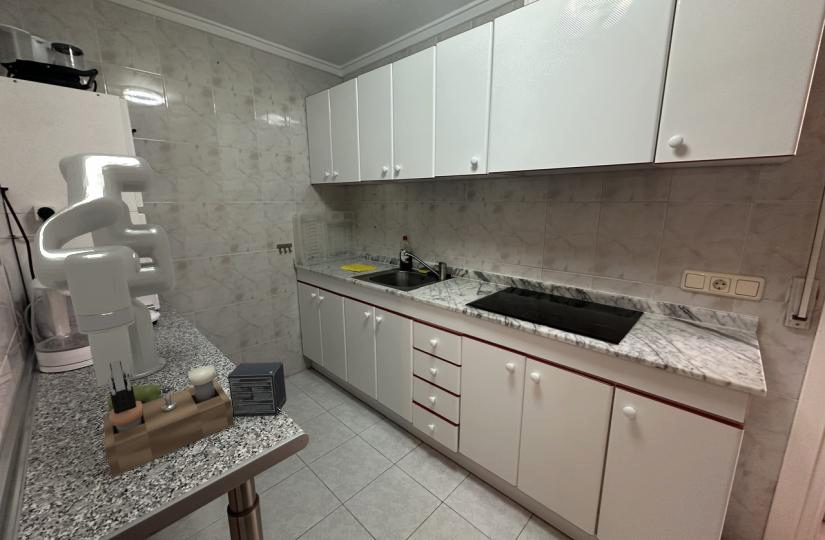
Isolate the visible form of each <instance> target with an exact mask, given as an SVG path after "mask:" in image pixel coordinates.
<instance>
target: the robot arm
mask: <svg viewBox="0 0 825 540" xmlns="http://www.w3.org/2000/svg"><path fill="white" fill-rule="evenodd" d="M58 168H59V171H60V174H61V175H62V177H63V179H64V181H65V183H66V186H67V187H66V190H67V194H66V195H67V196H66V197H67V205H66V206H64V207H63V208H61V209H59V210H58V211H56V212H55V213H54V214H52V215H51V216H50V217H48V218H47V219H46V220H45V221H44V222H43V223H42V224H41V225H40V226H39V228H38V229H37V231H36V233H35V235H34V239H33V257H32V258H33V260H32V261H33V271H34V276H35V277H36V280H37V281H38V283H39V284H40V285H41V286H43V287H44V288H46V289H48V290H57V291H59V290H68V291H69V296H70V299H71V305H72V308H73V312H74V317H75V321H76V326H77V330H78V333H79V334H81V335H88V336H87V337H88V344H89V345H88V346H89V350H90V354H91V360H92V364H93V369H94V373H95V377H96V383H97V387H98V388H101V389H102V388H104V386H105V387H106V386H108V385H109V388H110V392H109V396H111V400H112V405H113V409H114V413H115V414H118V413H121V412H124V411H127V410H130V409H133V408H135V407H136V401H135V396H134V391H133V386H134V385H132V384H131V381H133V380H137V379H141V378H144V377H147V376H151V375H153V374H155V373H157V372H159V371H161V370H162V369H163V368H164V367H165V366H166V365H167V360H166V358H164V357H162V356H159V352H158V348H157V347H158V346H157V341H156V336H155V331H154V325H153V321H152V320H153V319H152V315H151V313H152V312H151V310H150V308H149V307H148V306H147V305H146V304H145V303H144V302H142V301H140V300H138V299H137V298H140V297H147V296H152V295H154V296H155V295H161V294H167V293H170V292H172V291H173V290H174V289H175V287H176V276H175V275H176V274H175V269H174V262H173V258H172V253H171V245H170V241H169V237H168V234H167V232H166V230H165V229H164V227H162V226H161V225H158V224H155V223H141V224H140V223H139V224H138V223H137V224H136V223H135V224H134V223H133V222H132V218H131V212H130V211H131V210H130V207H129V205H128V204H127V203H126V202H125V201H124V200H123V196H122V193H150V192H151V191H152V190H153V189H154V183H155V177H154V173H153V172H154V171H153V169H152V166H151V165H150V163H149V162H148V161H147V160H146V159H145V158H144V157H141V156H136V155H129V154H128V155H127V154H113V153H97V152H83V153H77V154H74V155H68V156H67V155H66V156H64V157H62V158H60V159H59V161H58ZM89 233H90V234H91V238H92V244H93V246H82V247H68V248H63V247H64V246H65V244H67V243H69V242H70V241H72V240H75V238H78V237H81V236H84V235H85V234H89ZM146 258H147V259H151V260H152V261H149V262H141V259H146Z"/></svg>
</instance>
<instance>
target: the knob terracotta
mask: <svg viewBox="0 0 825 540" xmlns="http://www.w3.org/2000/svg"><path fill="white" fill-rule="evenodd" d="M142 404H143V402H140V401H136V407H135V408H133V409H130V410H127V411H124V412H121V413H118V414H115V413H114V409H112V410H111V409H110V411H109V412H108V416H109V417H110V421H111V424H112V425H113V426H116V427H117V432H118V433H120V432H123V431H125V430H128V429H131V428H133V427H136V426H139V425H141V424H142V423H141V418H140V417H141V416H142V415H143V413H144V412H143V407H142Z"/></svg>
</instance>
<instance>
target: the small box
mask: <svg viewBox="0 0 825 540" xmlns="http://www.w3.org/2000/svg"><path fill="white" fill-rule="evenodd" d="M227 379H228V380H227V381H228V387H229V393H230V394H229V395H230V396H229V397H230V400H231V405H232V413H233V418H234V417H236V418H237V417H258V416H259V417H262V416H265V417H266V416H278V415H280V412H281V411H280V410H279V409H281V410H282V408H283V407H284V405H286V402H287V391H286V381H285V371H284V362H283V361H276V362H275V361H274V362H250V363H249V362H241V363H239V364H238V365H237V366H236V367H235V368H234V369H233V370H232V371H231V372H230V373H228V374H227ZM277 407H278V408H279V409H278V408H277Z"/></svg>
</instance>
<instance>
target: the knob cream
mask: <svg viewBox="0 0 825 540" xmlns="http://www.w3.org/2000/svg"><path fill="white" fill-rule="evenodd" d="M215 371H216V370H215V367H214V366H213V365H202V366H199V367H196V368H194V369H192V370H190V371H189V372H188V379H189V384H190V385H192V386H193V387H194V390H195V396H196V402H197V404H198V403H201V402H204V401H206V400H209V399H212V398H215V391H214V384H213V380H215V379H216V376H217V375H216V372H215Z"/></svg>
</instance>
